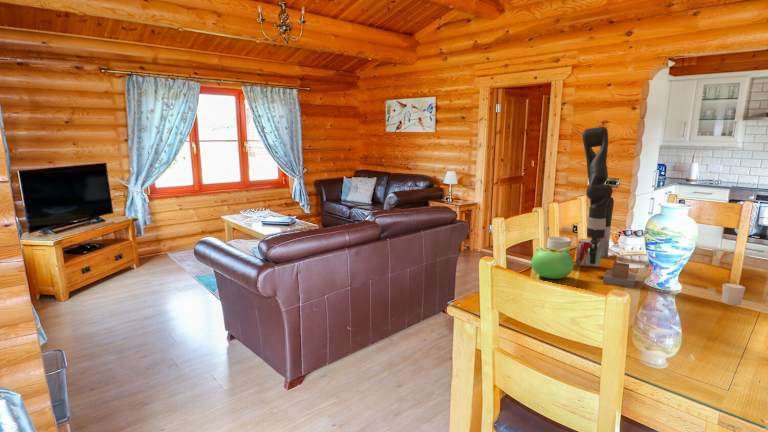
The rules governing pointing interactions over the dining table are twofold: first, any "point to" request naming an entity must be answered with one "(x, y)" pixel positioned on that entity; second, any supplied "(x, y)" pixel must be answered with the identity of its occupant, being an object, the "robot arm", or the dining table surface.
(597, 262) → the teal block
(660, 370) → the dining table surface
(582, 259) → the soda can
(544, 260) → the green round pot
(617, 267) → the walnut block
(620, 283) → the slate base
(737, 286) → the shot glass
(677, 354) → the dining table surface
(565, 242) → the mug
